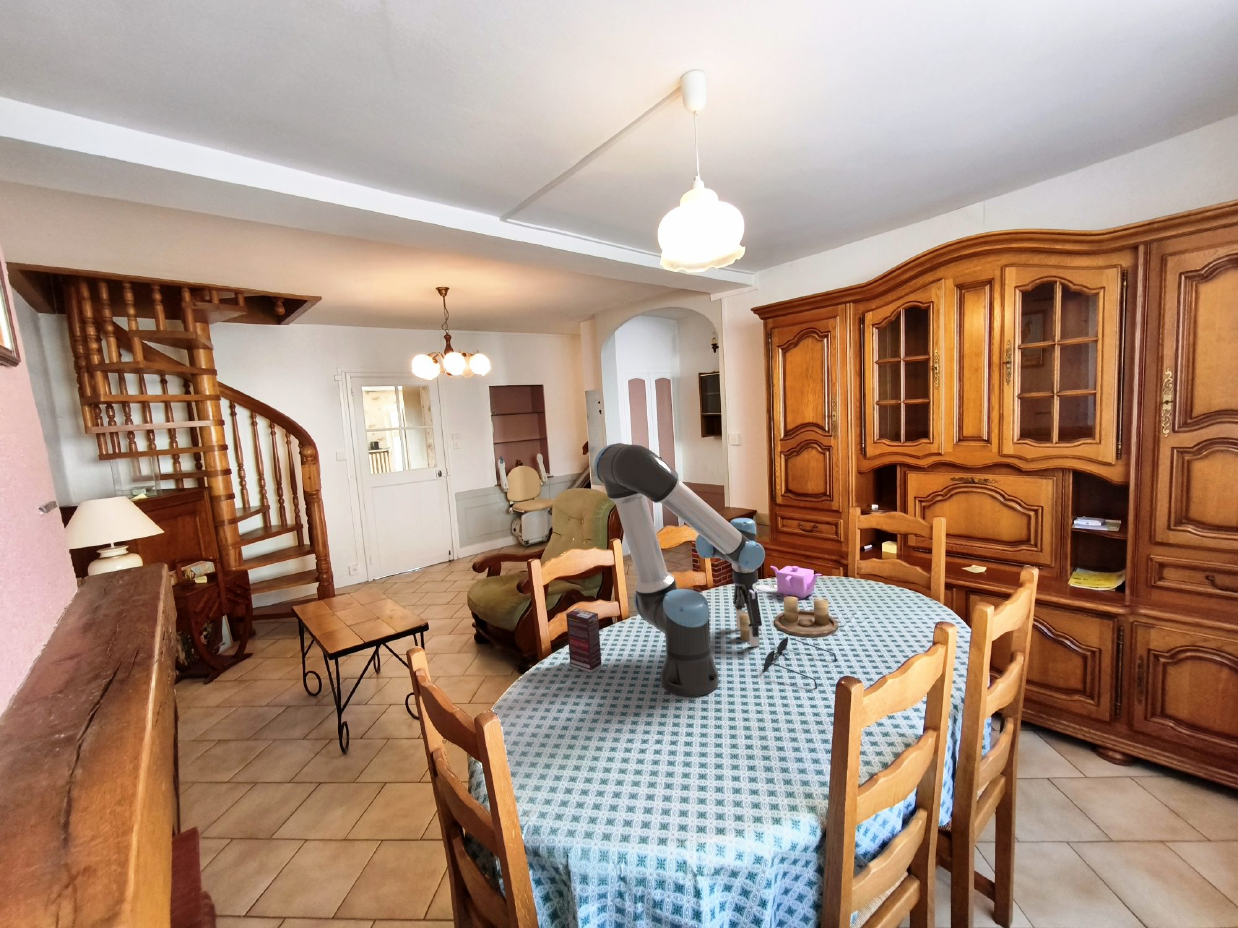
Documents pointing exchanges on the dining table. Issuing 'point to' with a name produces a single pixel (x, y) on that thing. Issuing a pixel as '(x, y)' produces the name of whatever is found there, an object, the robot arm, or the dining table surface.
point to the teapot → (795, 581)
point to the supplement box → (584, 640)
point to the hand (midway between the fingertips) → (747, 637)
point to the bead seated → (821, 612)
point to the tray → (806, 625)
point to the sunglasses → (780, 648)
